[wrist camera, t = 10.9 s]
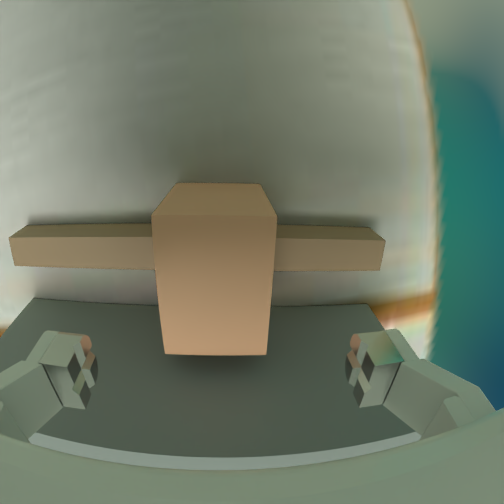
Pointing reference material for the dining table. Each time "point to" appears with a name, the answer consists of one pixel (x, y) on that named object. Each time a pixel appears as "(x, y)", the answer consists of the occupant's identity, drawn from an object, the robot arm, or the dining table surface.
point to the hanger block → (214, 268)
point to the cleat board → (207, 363)
